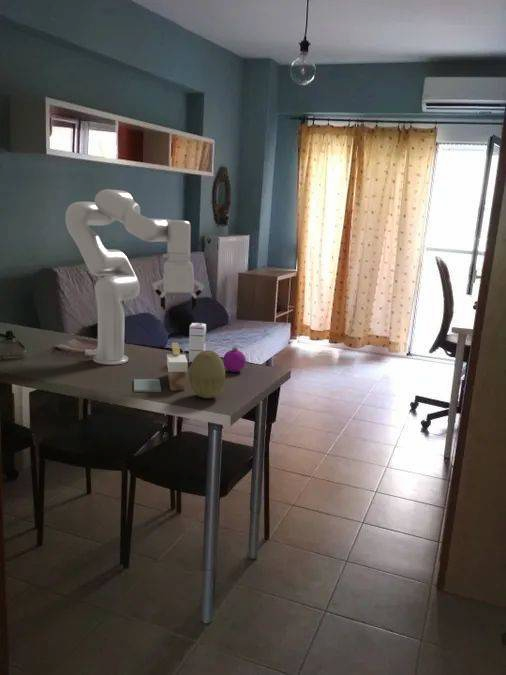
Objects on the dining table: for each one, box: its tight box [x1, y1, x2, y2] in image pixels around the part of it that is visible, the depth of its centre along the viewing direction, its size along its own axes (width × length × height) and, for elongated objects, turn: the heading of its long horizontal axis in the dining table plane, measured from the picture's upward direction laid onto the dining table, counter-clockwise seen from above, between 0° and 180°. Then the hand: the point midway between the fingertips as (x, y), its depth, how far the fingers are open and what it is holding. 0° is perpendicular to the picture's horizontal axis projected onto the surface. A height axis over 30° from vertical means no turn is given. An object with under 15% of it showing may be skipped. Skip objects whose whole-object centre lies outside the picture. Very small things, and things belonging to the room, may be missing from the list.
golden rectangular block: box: [171, 342, 181, 355], centre depth 200 cm, size 2×9×6 cm, turn 11°
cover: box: [166, 353, 189, 373], centre depth 193 cm, size 6×10×3 cm, turn 11°
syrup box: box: [188, 322, 207, 363], centre depth 225 cm, size 6×6×14 cm
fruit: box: [188, 349, 226, 399], centre depth 183 cm, size 11×11×15 cm
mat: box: [133, 378, 162, 393], centre depth 192 cm, size 8×12×1 cm
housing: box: [167, 371, 186, 391], centre depth 197 cm, size 4×18×6 cm, turn 11°
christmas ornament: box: [222, 346, 246, 373], centre depth 214 cm, size 8×8×10 cm
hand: (178, 309), depth 200 cm, fingers open, 9 cm apart
